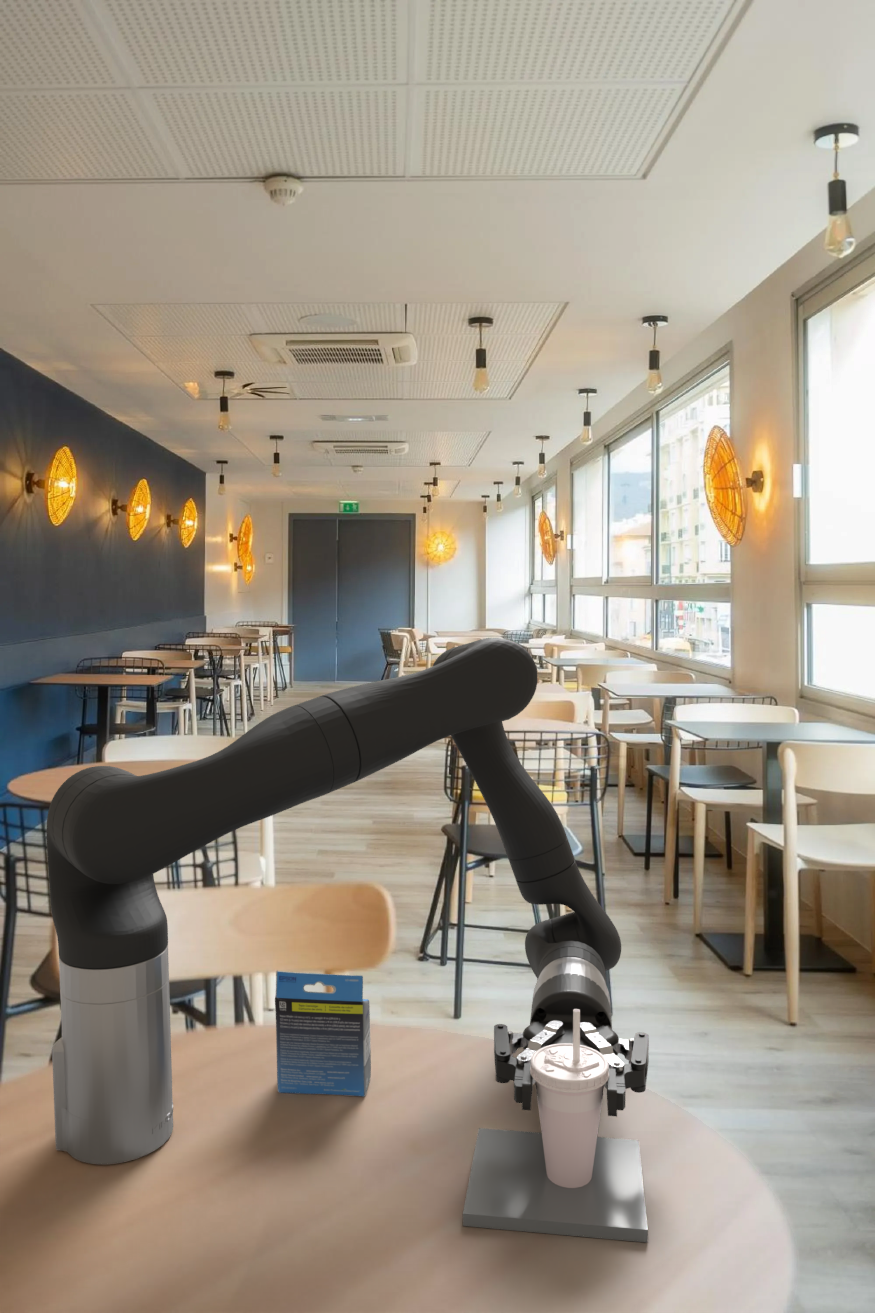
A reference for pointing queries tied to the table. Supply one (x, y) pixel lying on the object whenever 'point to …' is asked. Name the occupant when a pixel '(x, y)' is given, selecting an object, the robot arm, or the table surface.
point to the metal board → (555, 1189)
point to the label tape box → (322, 1035)
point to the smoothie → (569, 1106)
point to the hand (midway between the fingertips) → (569, 1102)
